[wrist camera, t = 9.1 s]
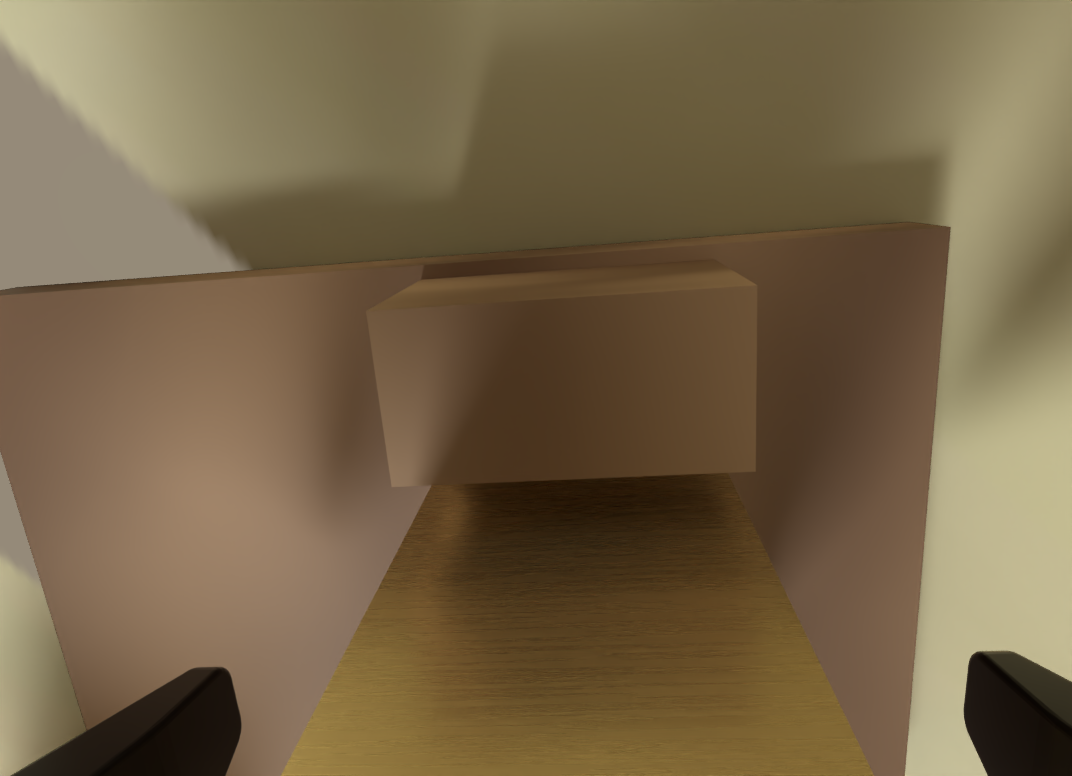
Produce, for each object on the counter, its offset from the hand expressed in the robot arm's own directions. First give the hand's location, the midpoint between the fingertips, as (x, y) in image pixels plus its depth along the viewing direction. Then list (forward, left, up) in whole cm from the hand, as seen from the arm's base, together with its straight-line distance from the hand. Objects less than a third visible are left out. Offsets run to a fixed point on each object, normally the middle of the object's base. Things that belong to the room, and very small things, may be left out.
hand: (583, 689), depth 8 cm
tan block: (0, 0, -2) cm, 2 cm away
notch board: (+2, 0, -4) cm, 4 cm away
